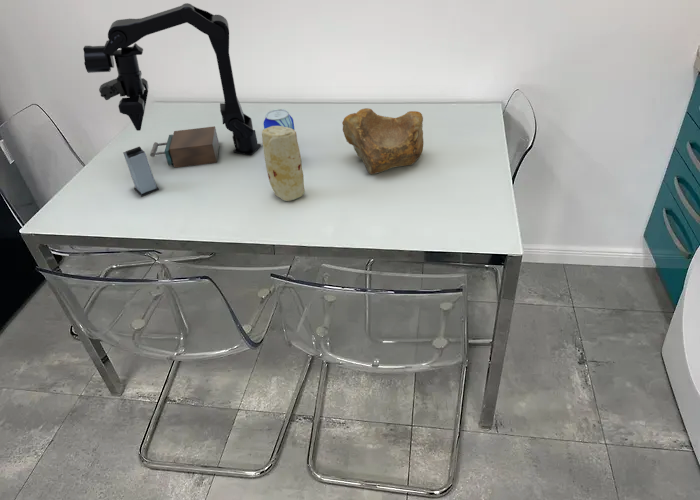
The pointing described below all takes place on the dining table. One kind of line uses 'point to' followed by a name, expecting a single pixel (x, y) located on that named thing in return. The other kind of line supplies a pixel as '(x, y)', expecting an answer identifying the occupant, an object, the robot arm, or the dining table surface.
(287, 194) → the food model
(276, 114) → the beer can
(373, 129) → the rough brown rock
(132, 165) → the grey box with handle
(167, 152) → the drawer
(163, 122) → the dining table surface
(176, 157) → the cabinet
